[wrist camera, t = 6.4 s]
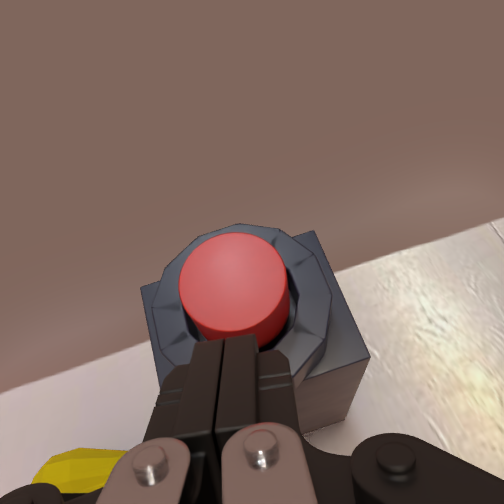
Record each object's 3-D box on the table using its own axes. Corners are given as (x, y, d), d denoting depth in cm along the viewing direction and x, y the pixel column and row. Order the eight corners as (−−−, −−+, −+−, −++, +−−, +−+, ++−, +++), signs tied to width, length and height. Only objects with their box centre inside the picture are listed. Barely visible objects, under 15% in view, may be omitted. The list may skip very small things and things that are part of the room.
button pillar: (312, 336, 34) (311, 198, 18) (346, 423, 31) (381, 348, 15) (211, 370, 33) (121, 260, 18) (235, 461, 30) (151, 427, 15)
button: (272, 250, 18) (266, 218, 16) (304, 333, 16) (302, 310, 14) (184, 279, 18) (168, 250, 15) (207, 366, 16) (191, 347, 14)
